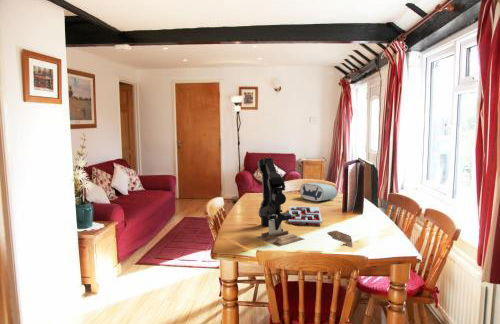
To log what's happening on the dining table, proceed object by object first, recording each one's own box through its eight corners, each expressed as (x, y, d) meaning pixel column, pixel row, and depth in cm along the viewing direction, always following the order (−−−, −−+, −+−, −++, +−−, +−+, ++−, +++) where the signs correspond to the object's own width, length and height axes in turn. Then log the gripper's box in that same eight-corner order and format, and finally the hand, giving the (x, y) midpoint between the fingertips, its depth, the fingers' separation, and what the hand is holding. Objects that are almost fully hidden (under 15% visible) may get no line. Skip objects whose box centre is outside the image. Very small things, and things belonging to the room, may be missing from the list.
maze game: (322, 226, 208) (322, 221, 208) (288, 225, 211) (288, 220, 210) (318, 211, 243) (318, 207, 242) (289, 210, 245) (289, 206, 245)
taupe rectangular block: (268, 236, 186) (268, 220, 185) (278, 234, 191) (278, 217, 190) (271, 237, 185) (271, 220, 184) (281, 235, 189) (281, 218, 188)
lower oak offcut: (275, 241, 179) (275, 239, 178) (292, 237, 186) (292, 235, 186) (281, 244, 175) (281, 242, 174) (299, 239, 182) (299, 237, 182)
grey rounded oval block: (299, 198, 280) (300, 182, 279) (314, 196, 293) (315, 180, 292) (322, 203, 264) (323, 186, 263) (337, 200, 277) (338, 184, 276)
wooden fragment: (325, 231, 199) (325, 229, 199) (345, 231, 199) (345, 229, 199) (338, 248, 174) (338, 246, 174) (360, 248, 174) (360, 245, 174)
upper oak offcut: (276, 239, 178) (276, 237, 178) (291, 235, 184) (291, 233, 184) (281, 241, 175) (282, 239, 175) (296, 237, 181) (296, 235, 181)
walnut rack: (255, 238, 186) (255, 233, 186) (281, 232, 197) (281, 226, 197) (278, 248, 172) (278, 242, 172) (305, 241, 183) (305, 235, 182)
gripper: (252, 199, 188) (252, 228, 190) (275, 206, 173) (275, 237, 175) (268, 196, 195) (268, 224, 197) (292, 202, 180) (291, 232, 182)
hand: (275, 229), depth 187 cm, fingers closed on taupe rectangular block, 2 cm apart
